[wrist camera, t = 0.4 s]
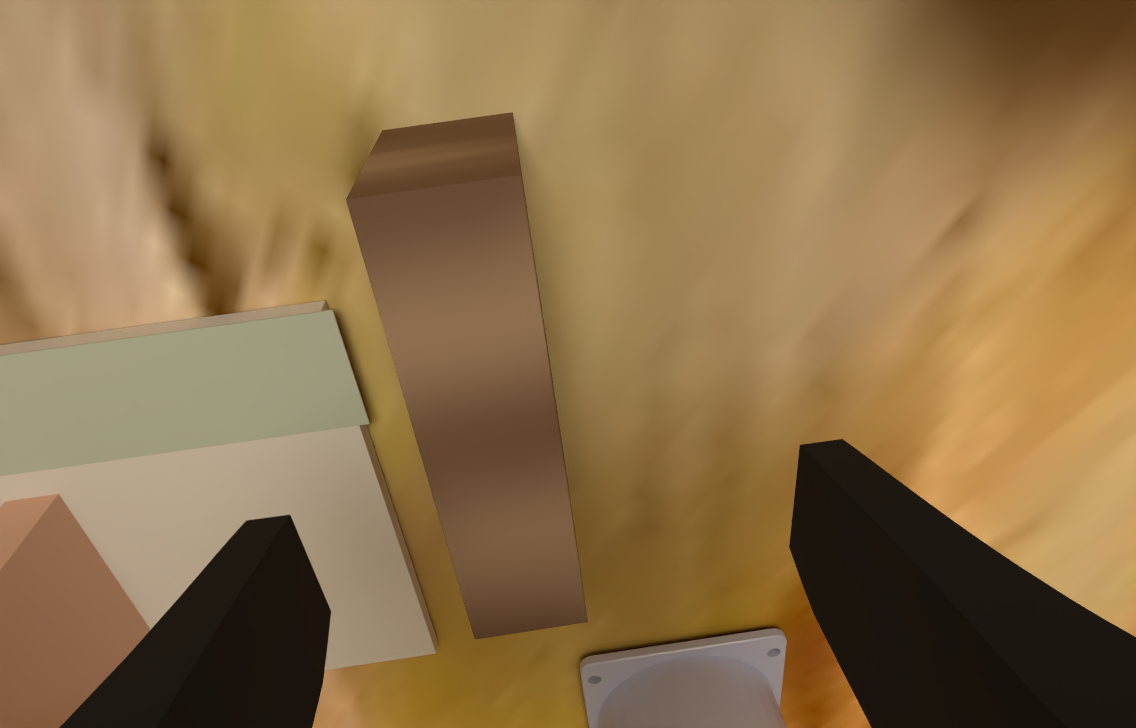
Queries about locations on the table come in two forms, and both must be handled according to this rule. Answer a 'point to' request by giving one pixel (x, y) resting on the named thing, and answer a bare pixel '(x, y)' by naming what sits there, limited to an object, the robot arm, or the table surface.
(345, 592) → the board
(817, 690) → the table surface
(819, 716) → the table surface
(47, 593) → the tile
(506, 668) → the table surface
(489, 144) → the bar
